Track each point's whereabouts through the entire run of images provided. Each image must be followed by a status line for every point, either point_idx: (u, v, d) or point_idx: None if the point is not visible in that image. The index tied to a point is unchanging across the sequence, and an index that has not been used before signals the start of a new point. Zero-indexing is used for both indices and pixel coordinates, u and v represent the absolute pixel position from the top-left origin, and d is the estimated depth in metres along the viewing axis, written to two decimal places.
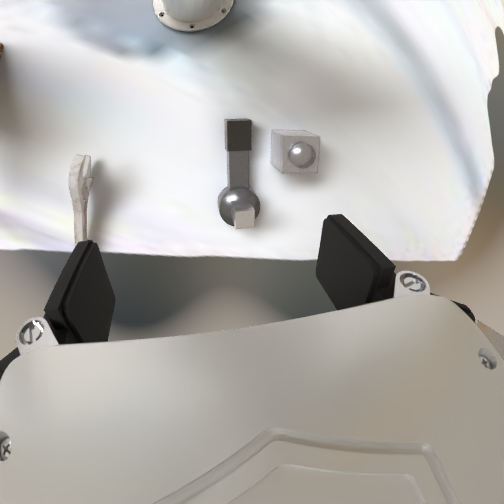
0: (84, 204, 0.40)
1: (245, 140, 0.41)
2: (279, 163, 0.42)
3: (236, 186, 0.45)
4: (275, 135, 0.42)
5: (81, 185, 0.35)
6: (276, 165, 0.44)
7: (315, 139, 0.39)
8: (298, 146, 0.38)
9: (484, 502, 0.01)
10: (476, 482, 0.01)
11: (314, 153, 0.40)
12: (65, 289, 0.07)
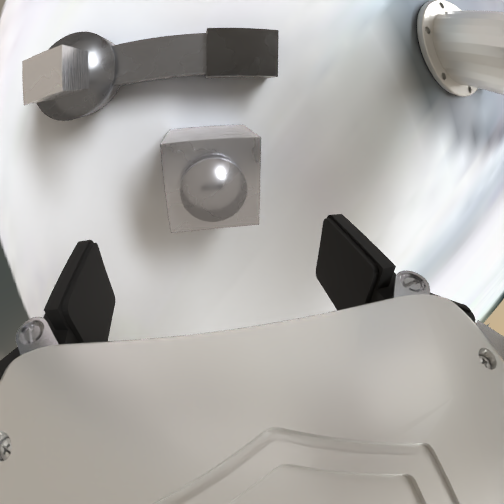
0: None
1: (231, 63, 0.16)
2: (181, 137, 0.16)
3: (120, 57, 0.14)
4: (239, 128, 0.19)
5: None
6: (171, 135, 0.17)
7: (252, 214, 0.18)
8: (238, 174, 0.16)
9: (484, 502, 0.01)
10: (476, 482, 0.01)
11: (222, 217, 0.17)
12: (65, 289, 0.07)
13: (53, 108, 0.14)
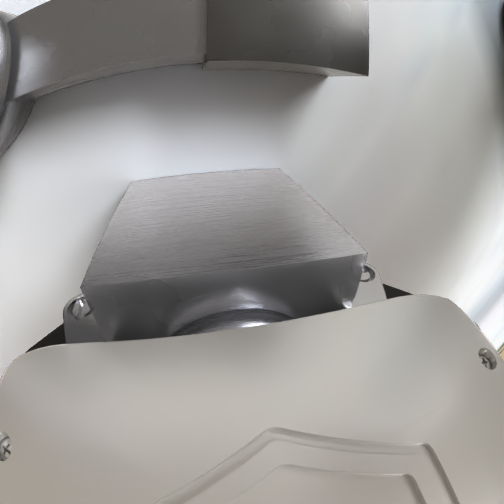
0: None
1: (269, 33, 0.06)
2: (143, 241, 0.06)
3: (18, 42, 0.04)
4: (282, 188, 0.09)
5: None
6: (125, 217, 0.07)
7: None
8: None
9: (484, 502, 0.01)
10: (476, 482, 0.01)
11: None
12: None
13: None
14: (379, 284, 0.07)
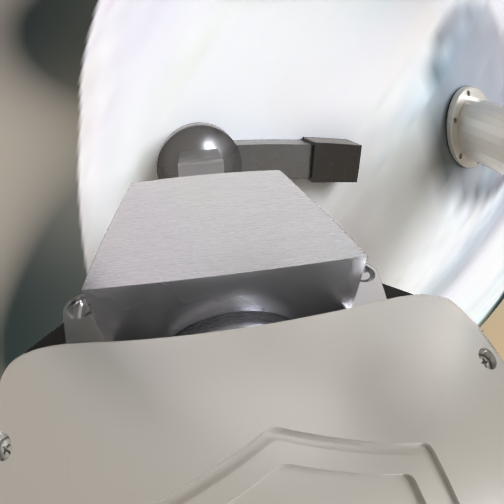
0: None
1: (328, 173, 0.24)
2: (143, 243, 0.06)
3: (244, 157, 0.22)
4: (282, 190, 0.09)
5: None
6: (125, 219, 0.07)
7: None
8: None
9: (484, 502, 0.01)
10: (476, 482, 0.01)
11: None
12: None
13: None
14: (379, 284, 0.07)
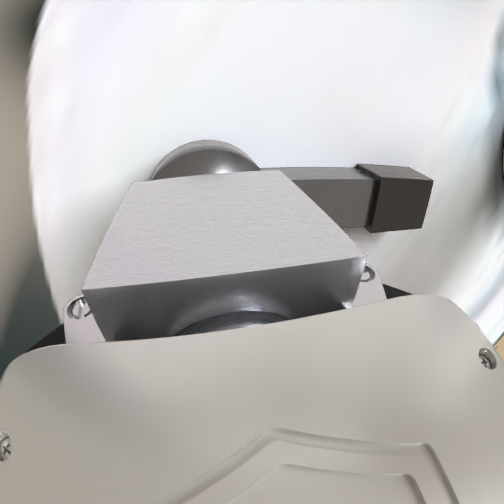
0: None
1: (392, 219, 0.16)
2: (143, 243, 0.06)
3: None
4: (282, 190, 0.09)
5: None
6: (125, 219, 0.07)
7: None
8: None
9: (484, 502, 0.01)
10: (476, 482, 0.01)
11: None
12: None
13: None
14: (379, 284, 0.07)
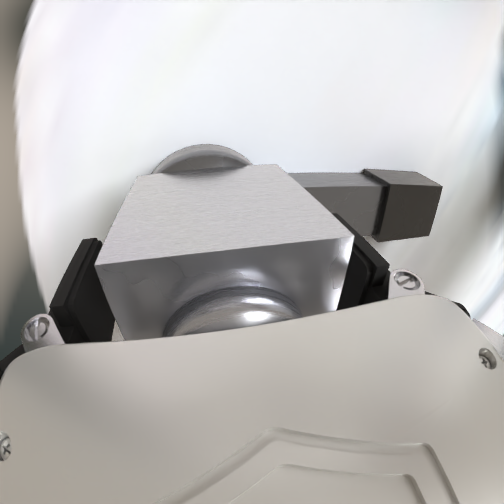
0: None
1: (400, 227, 0.16)
2: (151, 226, 0.07)
3: None
4: (278, 181, 0.10)
5: None
6: (133, 207, 0.08)
7: None
8: None
9: (484, 502, 0.01)
10: (476, 482, 0.01)
11: None
12: (70, 286, 0.07)
13: None
14: None
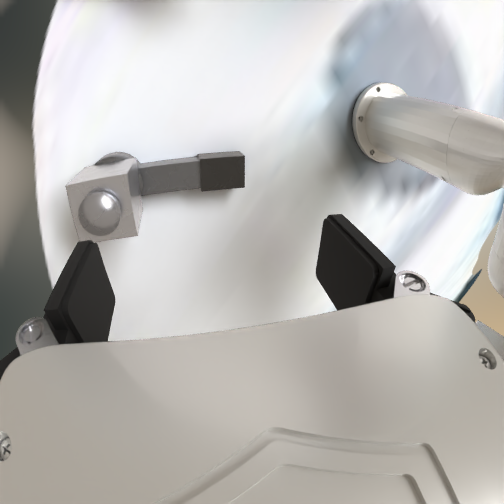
0: None
1: (215, 182, 0.30)
2: (81, 178, 0.21)
3: (145, 177, 0.28)
4: (127, 163, 0.24)
5: None
6: (79, 175, 0.22)
7: (131, 228, 0.23)
8: (112, 202, 0.21)
9: (484, 502, 0.01)
10: (476, 482, 0.01)
11: (107, 232, 0.22)
12: (65, 289, 0.07)
13: None
14: None
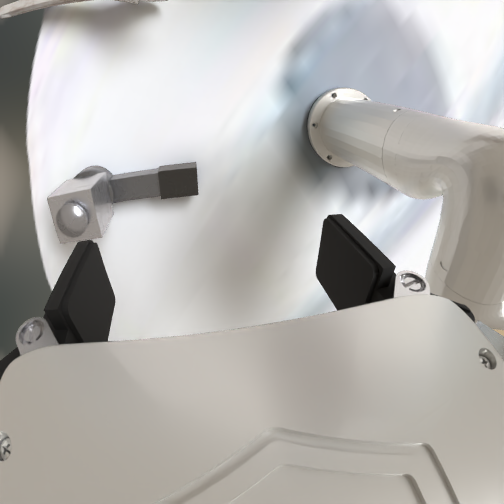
0: None
1: (172, 191, 0.34)
2: (59, 191, 0.26)
3: (114, 187, 0.32)
4: (96, 178, 0.28)
5: None
6: (59, 188, 0.27)
7: (97, 231, 0.28)
8: (79, 211, 0.25)
9: (484, 502, 0.01)
10: (476, 482, 0.01)
11: (78, 234, 0.26)
12: (65, 289, 0.07)
13: None
14: None
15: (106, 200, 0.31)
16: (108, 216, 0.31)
